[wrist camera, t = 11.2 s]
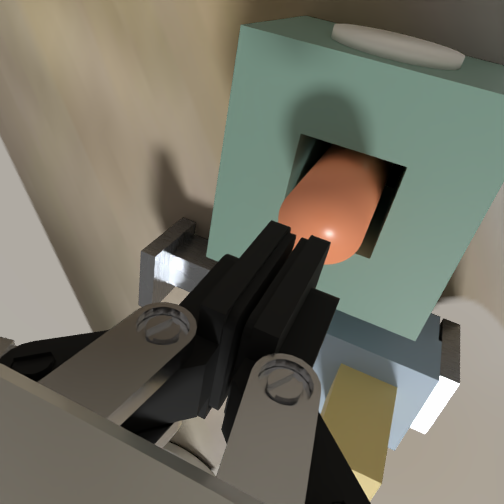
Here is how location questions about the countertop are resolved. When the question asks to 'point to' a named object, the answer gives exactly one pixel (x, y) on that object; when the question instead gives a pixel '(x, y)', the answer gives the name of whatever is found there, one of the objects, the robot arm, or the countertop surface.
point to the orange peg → (336, 200)
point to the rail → (198, 265)
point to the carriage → (374, 389)
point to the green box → (368, 142)
